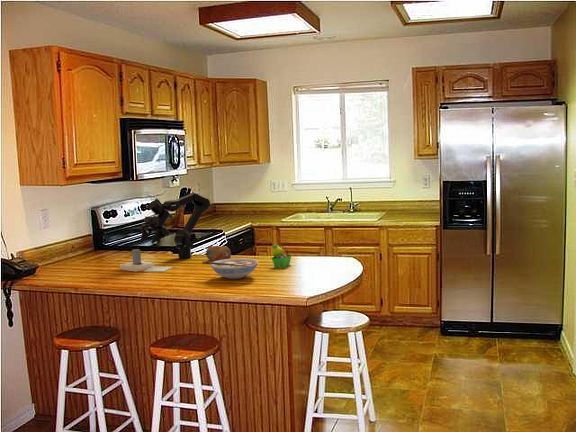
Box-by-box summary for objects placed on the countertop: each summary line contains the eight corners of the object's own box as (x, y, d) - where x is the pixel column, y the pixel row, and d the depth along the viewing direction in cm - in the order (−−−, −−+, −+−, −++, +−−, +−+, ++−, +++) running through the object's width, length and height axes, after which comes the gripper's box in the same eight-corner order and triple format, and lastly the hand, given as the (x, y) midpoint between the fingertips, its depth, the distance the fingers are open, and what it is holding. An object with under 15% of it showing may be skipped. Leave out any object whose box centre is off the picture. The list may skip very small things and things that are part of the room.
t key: (136, 267, 335) (134, 248, 334) (143, 268, 331) (142, 249, 330) (131, 268, 332) (130, 249, 331) (138, 269, 329) (137, 250, 328)
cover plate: (138, 265, 340) (138, 260, 340) (154, 267, 332) (153, 262, 332) (120, 269, 331) (120, 264, 331) (135, 271, 323) (135, 266, 323)
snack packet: (206, 260, 346) (205, 245, 345) (209, 259, 349) (208, 244, 348) (229, 262, 339) (228, 247, 338) (232, 261, 342) (231, 246, 341)
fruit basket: (285, 268, 316) (284, 246, 315) (269, 267, 319) (268, 246, 318) (292, 264, 327) (291, 242, 326) (276, 263, 330) (275, 242, 329)
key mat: (153, 267, 332) (153, 266, 332) (172, 267, 329) (172, 266, 329) (144, 271, 322) (143, 270, 321) (163, 272, 319) (163, 270, 319)
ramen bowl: (270, 275, 301) (269, 258, 301) (243, 285, 282) (242, 267, 281) (228, 271, 314) (227, 255, 313) (199, 280, 295) (198, 263, 294)
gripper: (141, 210, 344) (126, 232, 336) (163, 211, 332) (148, 234, 325) (153, 222, 351) (138, 244, 343) (175, 224, 339) (161, 247, 332)
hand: (146, 242), depth 336 cm, fingers open, 9 cm apart
